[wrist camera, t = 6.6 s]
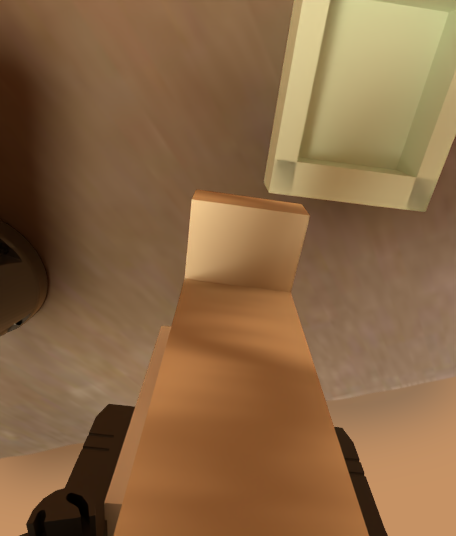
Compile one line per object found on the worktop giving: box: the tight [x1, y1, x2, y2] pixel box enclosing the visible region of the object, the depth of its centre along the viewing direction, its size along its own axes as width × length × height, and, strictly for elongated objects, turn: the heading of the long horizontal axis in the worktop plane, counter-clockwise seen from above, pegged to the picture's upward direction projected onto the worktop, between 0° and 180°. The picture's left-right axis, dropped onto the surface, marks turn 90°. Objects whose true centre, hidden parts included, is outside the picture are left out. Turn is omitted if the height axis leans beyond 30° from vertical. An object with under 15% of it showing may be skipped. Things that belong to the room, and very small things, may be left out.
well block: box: [264, 0, 456, 212], centre depth 29 cm, size 15×19×5 cm
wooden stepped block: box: [114, 189, 369, 536], centre depth 9 cm, size 4×10×12 cm, turn 172°
